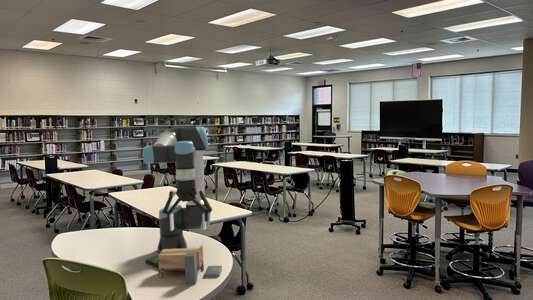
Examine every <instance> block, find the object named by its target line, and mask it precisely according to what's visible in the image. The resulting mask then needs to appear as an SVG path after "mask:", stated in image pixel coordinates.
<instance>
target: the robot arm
mask: <svg viewBox="0 0 533 300" xmlns="http://www.w3.org/2000/svg"><path fill="white" fill-rule="evenodd" d="M208 141H209V140H208V135H207V131H206V128H205V127H204V126H198V125H197V126H180V127H179V126H177V127H175V126H174V127H172V128H169V129H167V130H164V131H163V132H161V133H160V134H159V135H158V138H157V140H156V141H155V143H154V144H153V145H147V146H144V147H143V148H142V159H143V162H144V163H145V164H151V165H152V164H164V163H165V164H167V163H169V164H171V163H175V178H176V190H173V189H172V190H170V191H169V192H168V199H167V200H166V203H165V205H164V207H162V208H160V210H159V212H158V221H159V222H158V224H159V241H158V244H157V254H158V255H159V254H160V252H161V251H162V250H163V249H187V248H188V244H187V242H186V239H185V237H184V232H183V231H191V230H192V231H193V230H203V231H206V229H208V228H209V226H210V224H211V223H210V222H211V213H212V211H213V208H212V206H211V205H210V203H209V200H208V199H207V197H206V196H205V195H206V193H205V191H206V190H205V168H204V167H205V166H204V154H205V153H206V152H207V149H208V148H209V142H208ZM175 196H177V199H176V201H175V202H174V204H172V205H171V203H172V201H173V198H174V197H175ZM180 202H182V203H185V202H186V203H185V207H183V206H182V204H179V203H180Z"/></svg>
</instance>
